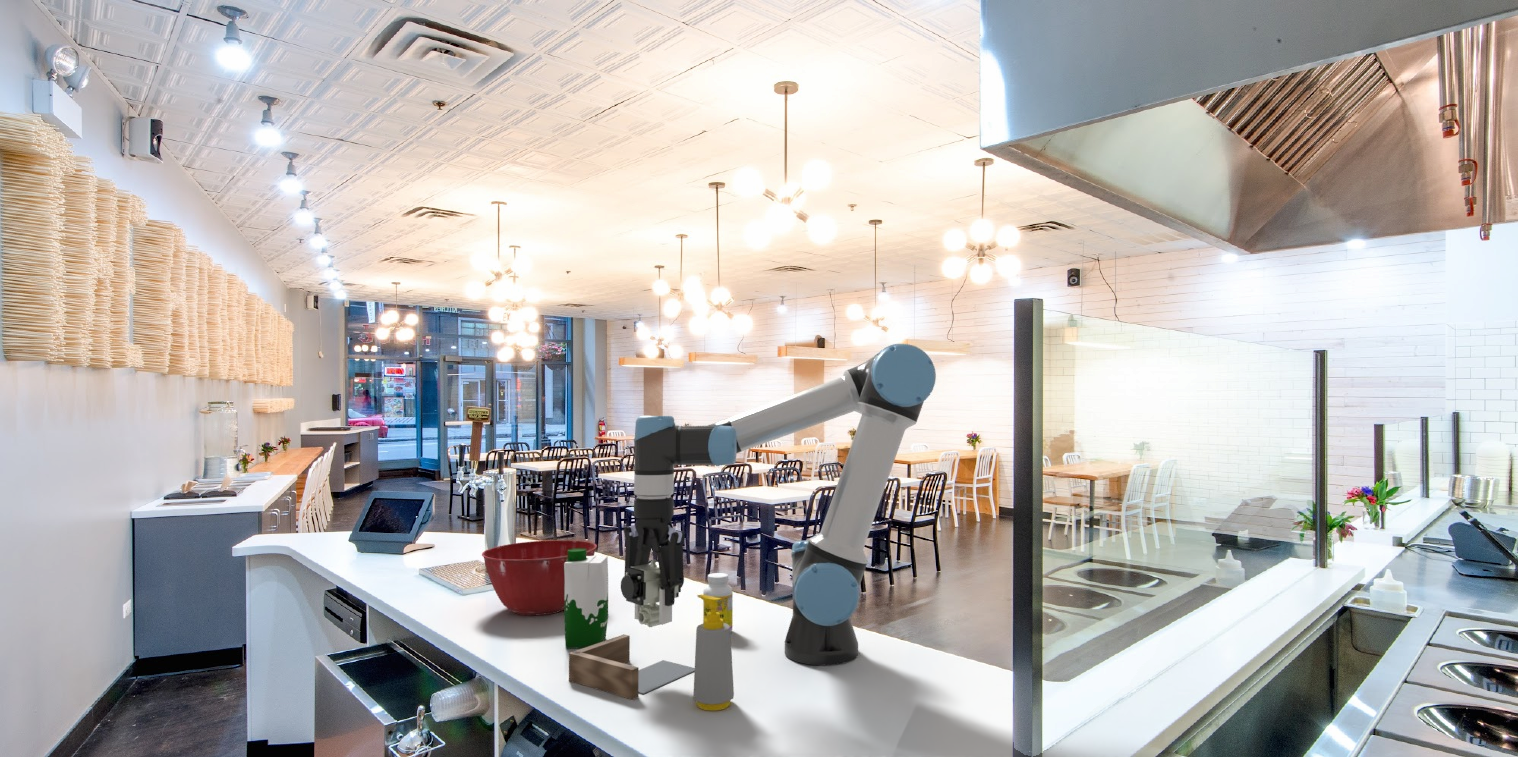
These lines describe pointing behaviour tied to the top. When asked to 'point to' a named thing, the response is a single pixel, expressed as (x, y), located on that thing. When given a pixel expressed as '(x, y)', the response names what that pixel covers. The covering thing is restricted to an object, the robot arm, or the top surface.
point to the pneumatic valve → (645, 591)
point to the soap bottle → (713, 661)
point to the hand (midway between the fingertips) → (653, 619)
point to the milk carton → (585, 598)
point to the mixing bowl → (531, 574)
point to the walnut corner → (606, 667)
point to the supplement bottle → (722, 591)
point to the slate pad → (660, 675)
